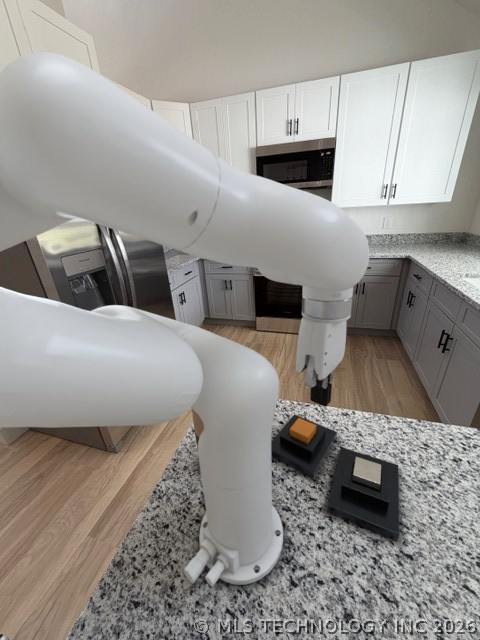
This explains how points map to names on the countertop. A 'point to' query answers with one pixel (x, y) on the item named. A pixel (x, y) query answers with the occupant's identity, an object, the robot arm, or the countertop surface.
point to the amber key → (303, 430)
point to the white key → (367, 474)
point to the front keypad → (366, 496)
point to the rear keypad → (303, 448)
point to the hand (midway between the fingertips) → (320, 401)
